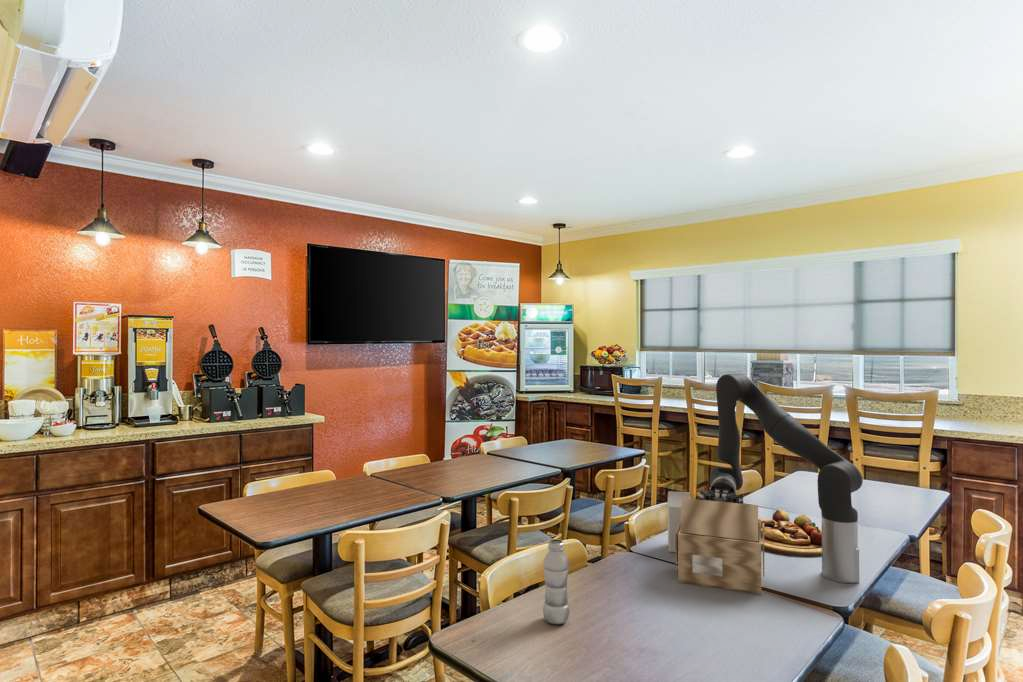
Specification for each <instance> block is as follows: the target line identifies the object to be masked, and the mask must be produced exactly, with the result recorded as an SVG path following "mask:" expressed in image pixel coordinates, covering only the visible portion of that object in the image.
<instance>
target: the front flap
mask: <svg viewBox="0 0 1023 682" xmlns="http://www.w3.org/2000/svg"><path fill="white" fill-rule="evenodd" d="M758 519H759V505H758V504H749V503H748V504H747V503H743V504H740V503H729V502H719V501H708V500H700V499H697V498H691V499H687V498H682V507H681V524H680V532H682V533H690V534H699V535H707V536H716V537H724V538H733V539H741V540H750V541H758Z"/></svg>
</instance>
